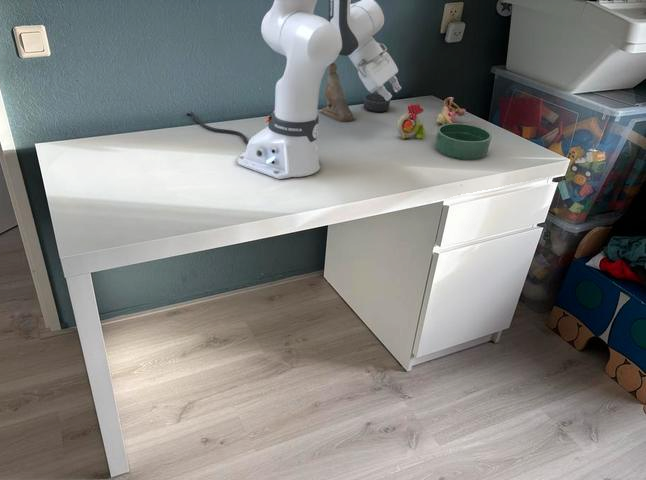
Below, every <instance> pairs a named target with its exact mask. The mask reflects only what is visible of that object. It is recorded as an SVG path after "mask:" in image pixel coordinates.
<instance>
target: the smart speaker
mask: <svg viewBox="0 0 646 480" xmlns="http://www.w3.org/2000/svg"><path fill="white" fill-rule="evenodd" d="M390 104H391V99H390V100H388V101H386V100H385V98H384V97H383V96H381V95H380V94H379V93H370V94H367V95H366V96H365V97H364V98H363V108H364V109H365V110H367V111H369V112H374V113H384V112H387V111H388V110H389V109H390V106H391V105H390Z"/></svg>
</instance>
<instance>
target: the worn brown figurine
mask: <svg viewBox="0 0 646 480" xmlns="http://www.w3.org/2000/svg"><path fill="white" fill-rule="evenodd" d="M328 67H329V72H328V74H327V84H326V86H325V91H324V93H325V97H326V103H327V104H326V106H324V107H322V108H321V111H320V112H321V113H323V114H324V115H326V116H329V117H331V118H332V119H334V120H337V121H340V122H350V121H353V119H354V117H353V112H352V111H351V109H350V107H349V105H348V103H347V100H346V97H345V94H344V91H343V88H342V85H341V81H340V78H339V77H340V76H339V75H338V73H337V69H338V66H337V64H336V63H334V62H333V63H332V64H330V65H329V66H328Z"/></svg>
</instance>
